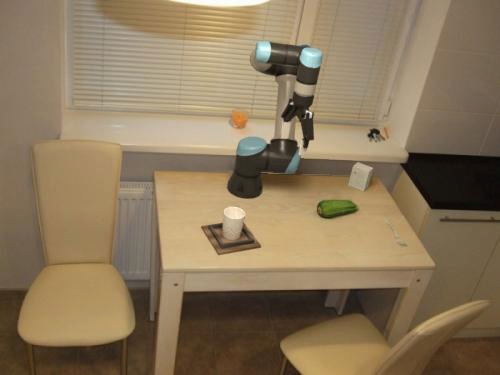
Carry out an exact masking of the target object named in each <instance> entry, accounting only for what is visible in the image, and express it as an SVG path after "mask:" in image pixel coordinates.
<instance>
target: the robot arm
mask: <svg viewBox="0 0 500 375" xmlns="http://www.w3.org/2000/svg"><path fill="white" fill-rule="evenodd" d="M323 56H324V53H323V52H322V50H320V49H318V48H315V47H312V45H310V44H308V43H301V44H299V45H297V44H288V43H279V42H273V41H268V40H258V41H257V42H256V45H255V49H253V50H252V52H251V53H250V57H249V62H250V66H251V67H252V68H253V69H254V70H255V71H257V72H259V73H261V74H264V75H266V76H267V75H268V76H272V77H273V76H274V77H275V80H274V81H275V82H276V83H277V97H276V98H277V99H276V110H275V122H274V125H275V126H274V135H273V137H272V138H271V139H270V142H269V143H267V141H266V139H264V138H262V137H260V136H246V137H244V138H242V139H240V140H239V141H238V143H237V147H236V150H235V153H236V155H235V159H234V166H233V172H232V173H231V174H230V177H229V179H228V181H227V185H226V188H227V191H228V192H229V193H230V194H232V195H234V197H235V196H236V197H237V198H242V199H255V198H258V197H259V196H260V195H262V194H263V187H264V186H263V182H262V172H269V173H278V174H284V175H287V174H289V175H293V174H295V173H296V172H297V170H298V168H299V165H300V162H301V157H302V156H306V155H307V152H308V151H307V150H308V148H309V145H310V141H314V140H315V133H314V130H315V129H314V115H315V113H314V111H310V107H311V106H313V104H314V100H315V93H316V88H317V84H318V80H319V76H320V71H321V66H322V64H323ZM297 119H298V121H299V122H300V126H301V131H302V132H301V133H302V137H303V138H301V140H300V144H299V142H298V141H297V139H296V137H295V136H296V123H297V122H296V121H297Z"/></svg>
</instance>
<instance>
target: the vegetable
mask: <svg viewBox="0 0 500 375" xmlns="http://www.w3.org/2000/svg"><path fill="white" fill-rule="evenodd" d="M358 208H359V205H358V204H356V203H355V202H354V201H353V200H351V199H334V198H333V199H331V198H330V199H323V200H321V201H319V202H318V203H317V206H316V212H317V214H318V215H319V216H320V217H322V218H332V217H335V216H340V215H344V214H352V213H354V211H356V210H358Z"/></svg>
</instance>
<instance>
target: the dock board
mask: <svg viewBox="0 0 500 375" xmlns="http://www.w3.org/2000/svg"><path fill="white" fill-rule="evenodd" d="M200 228H201V230H202V231H203V233H204V234H205V236H206V238H207V239H208V241H209V242H210V244H211V246H212V247H213V249H214V251H215V252H216V254H217V255H218V256H221V255H227V254H232V253H238V252H243V251H244V252H245V251H250V250H255V249H261V248H262V244H261V243H260V242H259V241H258V239H257V238H256V237H255V236H254V234H253V232H252V231H251V229H250V228H249V227H248V226H247V225H246V223H245V222H244V223H243V227H242V231H241V234H240V237H239V238H238V239H236V240H228V239H226V238H224V237H223V235H222V231H223V222H221V223H213V224H205V225H201V226H200Z"/></svg>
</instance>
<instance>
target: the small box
mask: <svg viewBox="0 0 500 375" xmlns="http://www.w3.org/2000/svg"><path fill="white" fill-rule="evenodd" d="M373 171H374V167H371V166H369V165H366V164H364V163H361V162H359V161H358V162H356V163H355V164H354V165H353V166H352V169H351V172H350V176H349V180H348V185H347V186H348V187H351V188H354V189H356V190H358V191H361V192H363V193H364V192H365V191H366V190H367V189H368V188H369V185H370V182H371V178H372V174H373Z"/></svg>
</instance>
